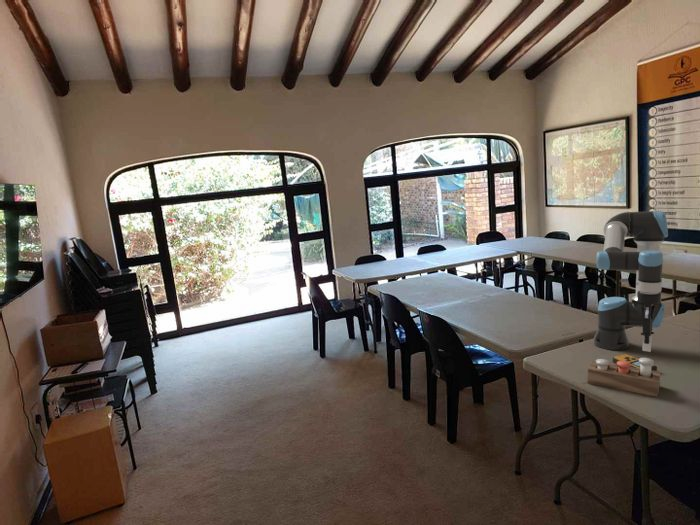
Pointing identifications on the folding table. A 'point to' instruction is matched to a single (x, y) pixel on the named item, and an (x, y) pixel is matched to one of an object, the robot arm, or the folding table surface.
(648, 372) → the grey plug
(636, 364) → the electronic device
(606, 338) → the robot arm
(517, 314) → the folding table surface
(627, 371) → the red plug
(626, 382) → the socket block
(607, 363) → the grey plug
